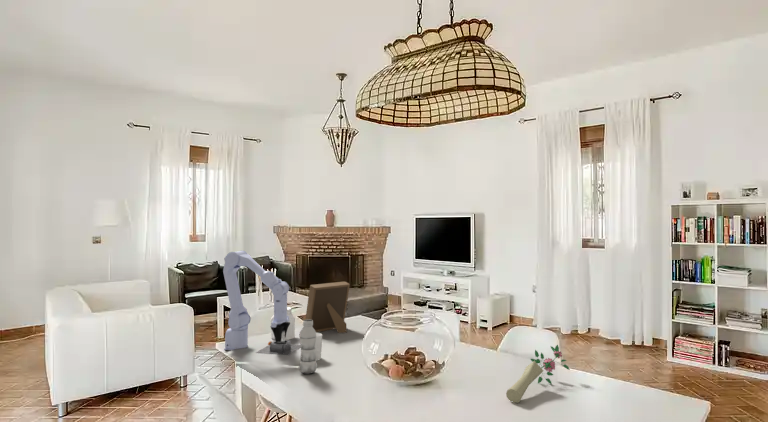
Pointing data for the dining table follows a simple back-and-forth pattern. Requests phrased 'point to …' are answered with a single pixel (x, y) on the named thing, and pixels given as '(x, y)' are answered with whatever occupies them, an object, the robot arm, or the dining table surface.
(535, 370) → the flower vase
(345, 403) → the dining table surface
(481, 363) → the dining table surface
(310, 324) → the plastic bottle
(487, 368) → the dining table surface
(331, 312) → the photo frame
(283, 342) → the silver metal canister
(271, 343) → the stand base
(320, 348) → the white cup
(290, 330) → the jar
